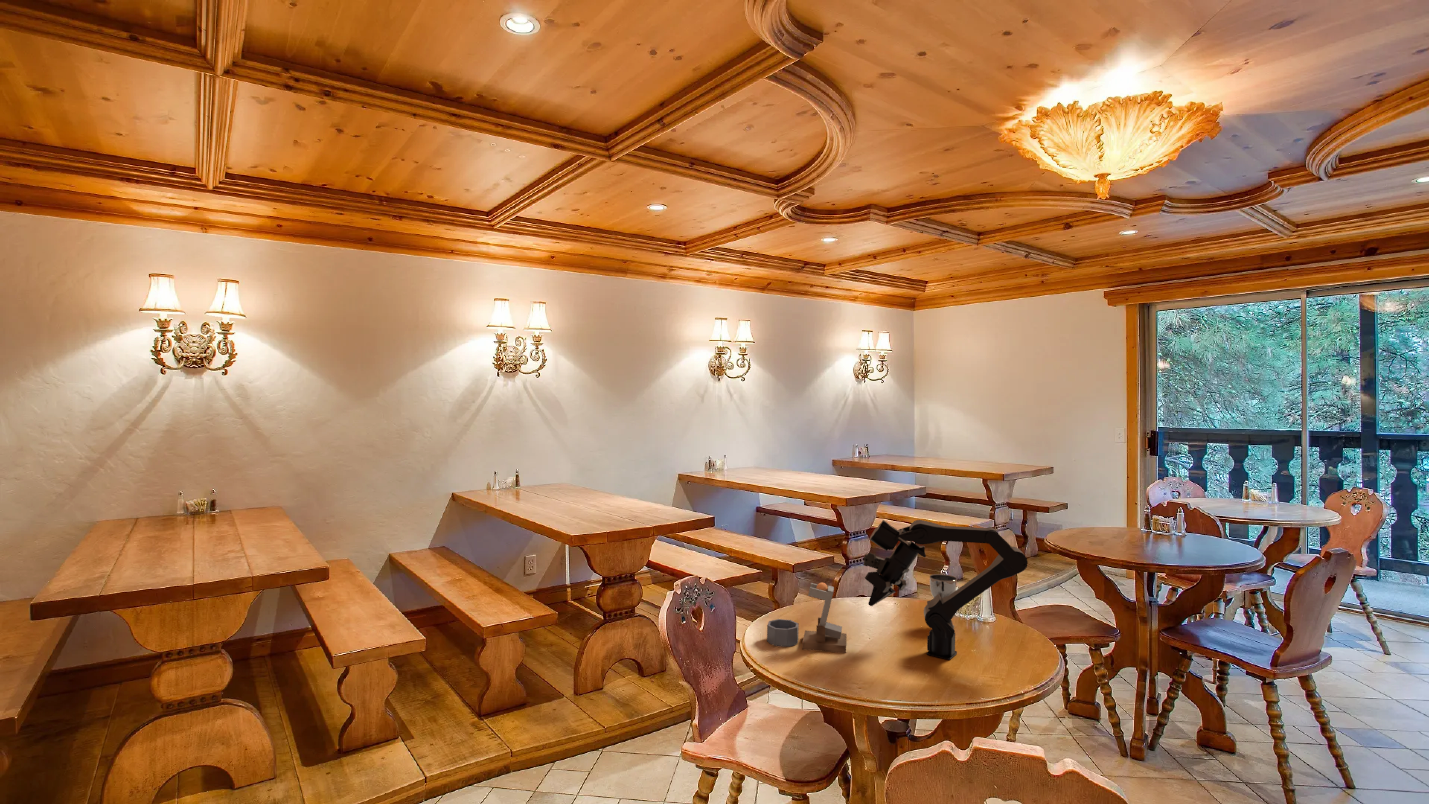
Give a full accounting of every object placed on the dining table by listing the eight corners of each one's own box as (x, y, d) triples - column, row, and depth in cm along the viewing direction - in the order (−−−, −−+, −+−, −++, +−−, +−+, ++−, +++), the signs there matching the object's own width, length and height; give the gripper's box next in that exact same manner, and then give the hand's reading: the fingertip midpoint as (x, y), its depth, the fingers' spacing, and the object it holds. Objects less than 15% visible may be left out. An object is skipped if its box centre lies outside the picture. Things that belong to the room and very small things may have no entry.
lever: (840, 634, 205) (850, 591, 204) (839, 641, 200) (850, 596, 199) (801, 623, 207) (811, 580, 207) (799, 629, 202) (810, 585, 201)
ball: (828, 594, 204) (830, 583, 203) (823, 596, 201) (825, 585, 201) (818, 591, 205) (820, 580, 205) (813, 592, 203) (815, 581, 203)
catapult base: (846, 640, 207) (846, 618, 207) (845, 653, 197) (846, 629, 197) (804, 637, 209) (805, 615, 209) (802, 649, 200) (802, 626, 199)
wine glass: (923, 622, 223) (924, 575, 223) (944, 620, 226) (945, 573, 226) (940, 631, 216) (940, 581, 216) (961, 628, 219) (962, 579, 218)
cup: (799, 637, 209) (799, 620, 209) (796, 648, 201) (796, 630, 200) (769, 635, 211) (769, 618, 211) (765, 645, 202) (766, 628, 202)
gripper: (888, 543, 211) (859, 585, 213) (866, 541, 196) (835, 587, 198) (919, 567, 205) (889, 610, 207) (899, 567, 190) (866, 614, 192)
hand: (869, 605), depth 201 cm, fingers closed
